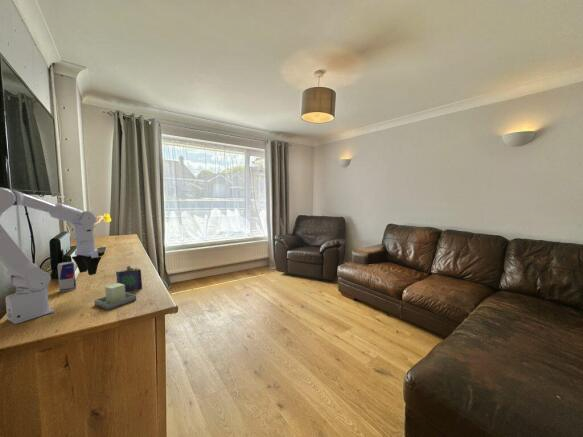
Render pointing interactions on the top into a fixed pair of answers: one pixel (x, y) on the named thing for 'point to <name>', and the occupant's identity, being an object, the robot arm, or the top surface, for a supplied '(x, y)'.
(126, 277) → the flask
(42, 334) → the top surface
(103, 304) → the dish
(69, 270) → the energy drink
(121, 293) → the green block
